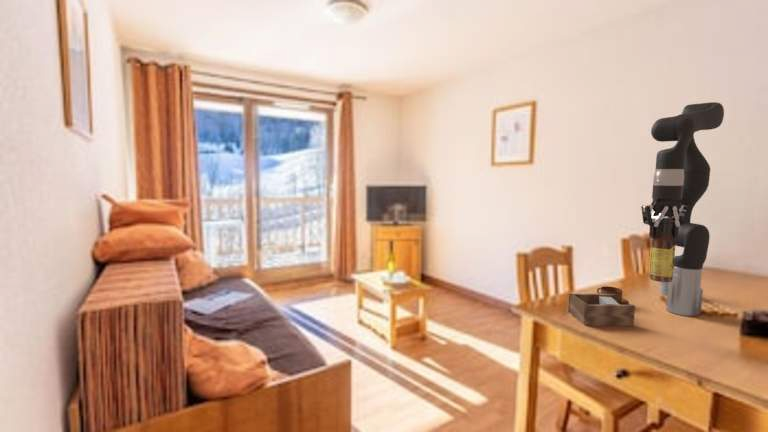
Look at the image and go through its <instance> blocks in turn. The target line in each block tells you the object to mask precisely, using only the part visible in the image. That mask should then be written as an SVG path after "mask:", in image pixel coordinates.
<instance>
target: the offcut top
mask: <svg viewBox="0 0 768 432" xmlns="http://www.w3.org/2000/svg"><path fill="white" fill-rule="evenodd" d="M599 304H600V305H620V304H618V303H617V302H616V301H615V300H614V299H613V298H612V297H602V296H599Z"/></svg>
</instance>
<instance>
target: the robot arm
mask: <svg viewBox="0 0 768 432" xmlns="http://www.w3.org/2000/svg"><path fill="white" fill-rule="evenodd" d="M724 115H725V109H724V105H722V103H720V102H715V101H714V102H712V101H711V102H702V103H692V104H691V103H690V104H687V105H685V106H684V107H683V110H682V112H681V114H678V115H675V116H669V117H662V118H658V119H657V120H656V121H655V122H654V123H653V124H652V126H651V131H650V133H651V136H652V138H653V139H654V140H655V141H656V142H662V143H663V142H676V143H675V145H674V146H673V147H670V148H666V149H661V150H659V151H658V152H657V153H656V158H655V159H656V160H655V170H654V174H653V182H652V192H651V194H652V195H651V198H652V202H651V203H650V204H647V205H641V206H640V209H641V216H642V221H643V224H644V225H647V226H649V232H648V233H649V235H648V236H649V237H650V238H651V239H652V238H653V239H657V237H658V227H657V226H658V224H659V222H660V221H661V220H662V219H663V217H665V218H672V221H673V222H672V225H671V232H672V235H673V238H674V241H675V247H679V248H683V252H682V254H681V255H675V258H674V272H673V277H672V281H671V282H669V286H668V295H666V297H667V298H666V305H665V307H666V311H668V312H669V313H673V314H676V315H680V316H684V317H686V316H687V317H695V316H698V315H699V316H700V315H701V313H702V303H703V294H704V289H703V288H701V286H702V277H703V276H702V275H703V266H704V263H705V262H706V260H707V256H708V255H707V254H708V251H709V250H708V249H709V245H710V237H711V235H710V231H709V228H708V227H707V226H705V225H704V224H700V223H693V222H691V219H692V212H693V209H694V207H695V206H696V204H697V202H698V201H700V200H701V198H702V197H703V195H705V194H706V191H707V190H708V187H709V185H710V184H709V183H710V175H711V166H710V163H709V162H708V160H707V159H706V158H705V156H704V154H702V152H701V150H700V149H699V147H698V146H697V143H696V142H695V141H696V140H695V137H694V136H695V135H694V134H695V133H696V132H700V131H710V130H715V129H718V128H719V127H720V126H721V125H722V123H723V120H724Z"/></svg>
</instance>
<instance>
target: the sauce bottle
mask: <svg viewBox="0 0 768 432" xmlns="http://www.w3.org/2000/svg"><path fill="white" fill-rule="evenodd" d="M672 222H673V221H672V218H667V217H663V219H662V220H661V221H660V222H659V224H658V226H657V227H658V237H657V239H653V238H651V241H650V243H651V244H650V250H649V251H650V254H649V268H648V269H649V270H648V272H649V273H648V274H649V279H650V280H652V281H654V282H658V283H659V282H671V281H672V277H673V272H674V258H675V256H676V253H675V252H676V246H675V241H674V238H673V235H672V232H671V225H672Z"/></svg>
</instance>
